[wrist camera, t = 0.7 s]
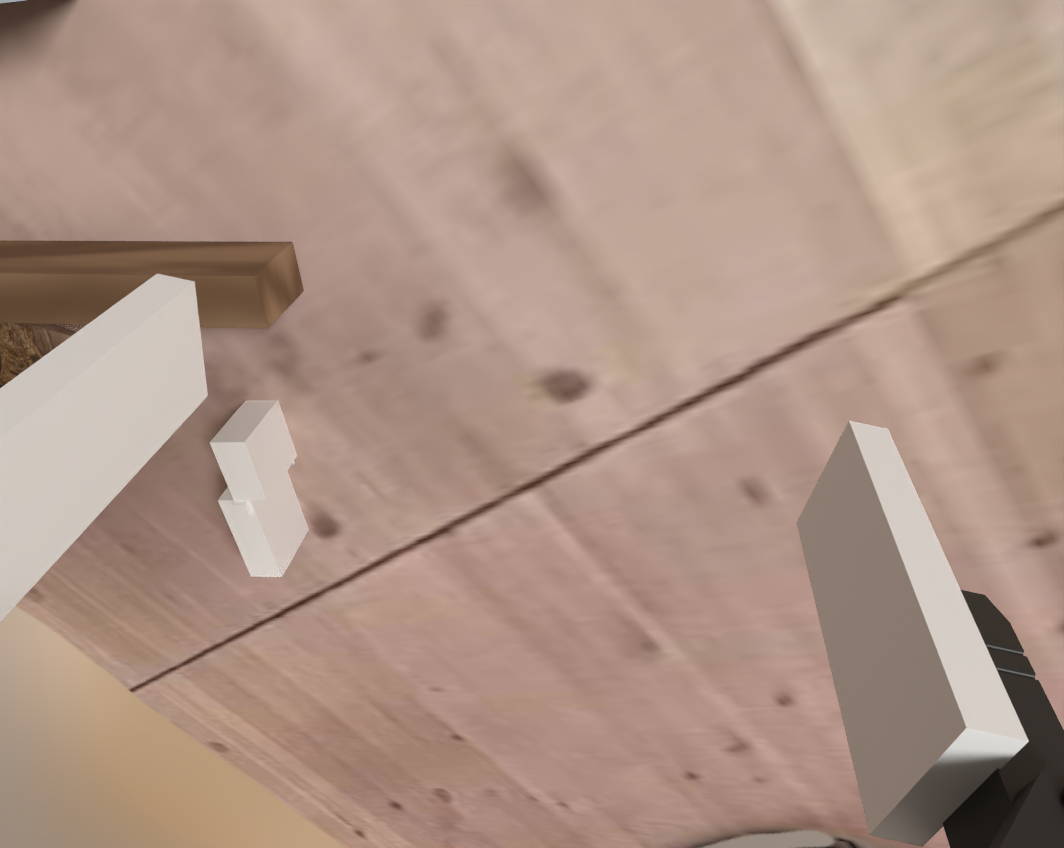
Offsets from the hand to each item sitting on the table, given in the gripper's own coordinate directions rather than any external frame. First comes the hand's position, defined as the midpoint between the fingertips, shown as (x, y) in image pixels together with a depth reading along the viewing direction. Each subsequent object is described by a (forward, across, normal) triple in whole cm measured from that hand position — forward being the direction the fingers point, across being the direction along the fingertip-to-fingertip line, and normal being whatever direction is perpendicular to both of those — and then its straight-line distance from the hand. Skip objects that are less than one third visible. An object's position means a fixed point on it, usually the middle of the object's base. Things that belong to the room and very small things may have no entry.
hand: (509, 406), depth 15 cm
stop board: (+26, -29, -14) cm, 42 cm away
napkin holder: (+27, -16, -27) cm, 41 cm away
